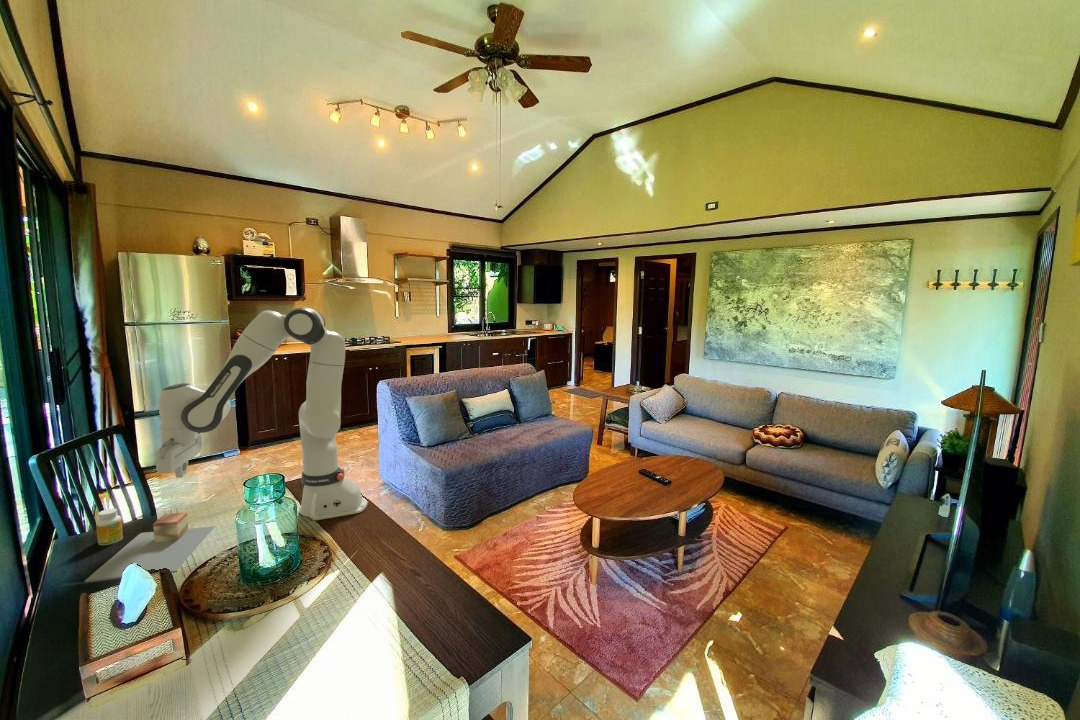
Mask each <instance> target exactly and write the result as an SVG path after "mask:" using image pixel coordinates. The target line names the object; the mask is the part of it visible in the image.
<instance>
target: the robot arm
mask: <svg viewBox="0 0 1080 720" xmlns="http://www.w3.org/2000/svg"><path fill="white" fill-rule="evenodd" d="M290 337H291V338H293V339H295V340H297V341H300V342H302V343H304V344H306V345H309V346H310V353H309V360H308V361H309V362H308V368H307V375H306V380H305V381H306V382H305V385H306V386H305V387H306V391H305V392H306V396H305V401H304V402H302V404H300V407H299V409H298V423H299V433H300V434H299V435H300V442H301V449H302V450H301V451H302V470H303V471H302V473H301V485H302V487H301V488H302V498H301V503H300V508H299V510H298V512H299V514H300V515H302V516H304V517H308V518H310V519H311V520H313V521H319V520H325V519H332V518H337V517H344V516H350V515H354V514H360V513H362V512H363V511H364V510H366V508H367V506H368V504H369V498H368V496H367V495H366V494H365V493H362V491H361V488H360V486H359V484H358V483H356V482H355V481H353V480H351V479H349V478H347V477H345V467H342V468H341V467H339V463H338V462H339V461H338V458H339V457H338V456H339V455H338V444H337V439H336V434H337V433H338V432H339V430H340V429H341V421H342V420H341V413H342V382H343V375H344V368H345V361H346V341H345V338H344V336H343V335H341V334H340V333H338V332H335V331H332V330H328V329H327V328H326V322H325V318H324V317H323V315H322V314H321V313H320V312H319V311H317V310H316V309H313V308H311V307H297V308H294V309H292V310H290V311H288V312H287V314H286V315H285V314H282V313H280V312H277V311H274V310H269V309H268V310H267V309H266V310H263V311H261V312H260V313H259V314H258V315H256V317H254V318H253V320H251V322H249V324H248V325H247V326H246V327H245V328H244V330H243V331H242V332H241V334H240V335H239V336H238V338H237V340H236V341H235V343H234V345H233V347H232V349H231V352H230V354H229V356H228V358H227V360H226V362H225V363H224V364H223V367H222V369H221V370H220V372H219V374H217V376H216V377H215V379H214V380H213V381H212V382H211V384H210V385H209V387H207V389H205V390H204V389H201V388H199V387H196V386H194V385H192V384H191V383H186V382H185V383H178V384H177V383H176V384H173V385H168V386H166V387H164V388H163V389H162V390H161V391H160V393H159V398H158V411H159V412H158V413H159V416H160V420H161V421H160V422H161V423H160V426H159V428H160V430H159V431H160V442H161V443H162V444H161V447H160V448H158V449H157V452H156V460H155V464H156V465H155V466H156V468H155V469H156V472H157V474H170V473H172V472H174V473H175V478H176V479H177V478H179V479H180V478H182V477H184V476H185V475H187V473H188V470H187V469H188V466H189V461H190V460H191V459H192V458H194V457H195V456H197V455H198V454H200V453H201V450H202V449H203V448H202V446H203V435H202V433H209V432H211V431H213V430H215V429H216V428H217V427H218V426H219V425H220V423H221V422H222V421H223V420H224V419H225V418H226V417H227V416H228V414H229V413H230V412H231V410H232V402H231V399H230V398H231V397H232V395H234V393H235V391H236V390H237V389H238V387H239V386H240V385H241V383H243V382H244V380H246V379H247V378H248V377H249V376H250V375H252V374H253V373H254V372H256V371H257V370H259V369H260V368H261V367H262V366H264V365H265V363H267V362H268V361H269V360H270V359H271V358H272V356H274V354H275V353H276V351H277V350H278V349H279V347H280V345H282V343H283V341H285V340H286V339H287V338H290ZM361 494H362V495H363V496H364V497H366V498H367V499H368V501H367V500H366V499H365V498H363V497H362V495H361Z"/></svg>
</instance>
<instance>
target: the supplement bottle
mask: <svg viewBox="0 0 1080 720" xmlns="http://www.w3.org/2000/svg"><path fill="white" fill-rule="evenodd" d="M95 523H96V524H95V528H96V536H97V544H98V545H99V546H108V545H112V544H116V543H118V542H119V541H122V540H123V538H124V534H123V524H122V523H123V522H122V516H120V515H118V509H117V508H105V509H103V510H101V511H99V512H98V520H96V522H95Z"/></svg>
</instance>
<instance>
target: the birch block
mask: <svg viewBox="0 0 1080 720" xmlns="http://www.w3.org/2000/svg"><path fill="white" fill-rule="evenodd" d="M152 526H153V527H152V528H153V532H154V539H155V542H165V541H175V540H179V539H180V538H181V537H182V536H183V535H184V534H185V533H186V532H187V531H188V529H189V522H188V512H185V511H184V512H174V513H164V514H162V516H160V517H159V518H158V519H157V520H156V521H154V522H153V523H152Z"/></svg>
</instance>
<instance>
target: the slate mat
mask: <svg viewBox="0 0 1080 720" xmlns="http://www.w3.org/2000/svg"><path fill="white" fill-rule="evenodd" d="M215 528H216V526H204V527H193V528H192V527H191V528H188V531H187V532H186V533H185V534H184V535H183V536H182V537H181V538H180V539H179V540H175V541H165V542H155V539H154V531H149V532H148V531H146V532H145V531H144V532H140V533H139V534H138V535H136V536H135V537H134V538H133V539H132V540H131V541H130V542H128V543H127V544H126V545H124V547H123V548H121V549H120V550H119V551H118V552H117V553H116V554H114V555H112V557H110V559H108V560H107V561H106V562H105V563H104V564H103V565H101V566H100V567H99V568H98V569H97V570H95V571H94V572H93V573H92V574H91V575H89V577H87V578H86V579H85V580H84V583H91V582H92V583H93V582H94V583H95V582H101V581H103V582H104V581H109V580H118V579H119V580H120V579H122V578H121V576H122V572H123V570H124V569H125V568H126V567H127V566H128V565H129V564H131V563H137V564H138V565H140V566H141V567H142V568H144V569H146V570H151V569H155V570H159V569H163V568H167V569H169V570H170V572H171V573H170V574H172V573H173V574H174V573H177V572H178V569H179V568H180V567H181V566H182V565H183V564H184V563H185V561H187V559H188V558H189V557H190V556H191V555H192V553H194V551H195V550H197V548H198V547H199V546H200V545H201V544H202V542H203V541H204V540H205V538H207V537H208V535H209V534H210V533H211V532H212V531H213V529H215Z"/></svg>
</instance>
